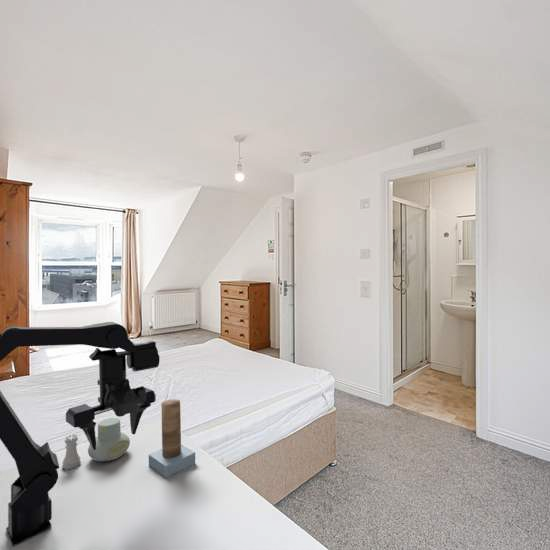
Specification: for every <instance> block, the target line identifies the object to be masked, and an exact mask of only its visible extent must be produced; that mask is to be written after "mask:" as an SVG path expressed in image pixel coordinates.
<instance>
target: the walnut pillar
mask: <svg viewBox="0 0 550 550" xmlns="http://www.w3.org/2000/svg"><path fill="white" fill-rule="evenodd" d="M181 416H182V415H181V400H179V399H175V398H174V399H168V400H165V401H162V402H161V449H162V456H163V457H165V458H173V457H176V456H178V455H180V454H181V445H182V427H181V422H182V421H181V419H182V418H181Z"/></svg>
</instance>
